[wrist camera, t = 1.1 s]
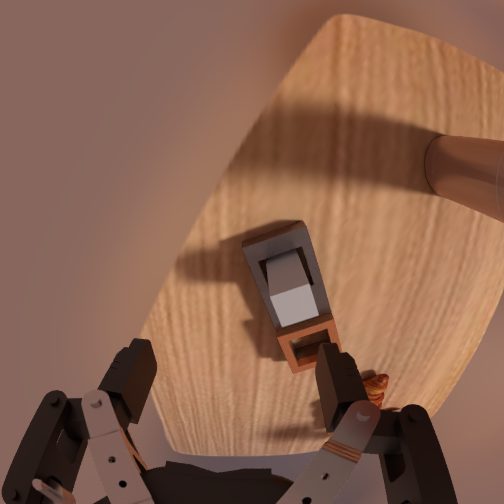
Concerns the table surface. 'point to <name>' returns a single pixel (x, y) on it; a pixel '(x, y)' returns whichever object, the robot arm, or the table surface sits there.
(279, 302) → the peg
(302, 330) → the socket
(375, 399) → the croissant
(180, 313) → the table surface
